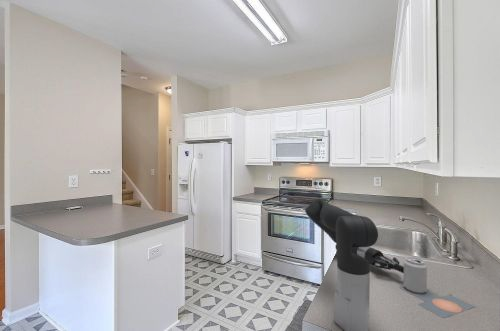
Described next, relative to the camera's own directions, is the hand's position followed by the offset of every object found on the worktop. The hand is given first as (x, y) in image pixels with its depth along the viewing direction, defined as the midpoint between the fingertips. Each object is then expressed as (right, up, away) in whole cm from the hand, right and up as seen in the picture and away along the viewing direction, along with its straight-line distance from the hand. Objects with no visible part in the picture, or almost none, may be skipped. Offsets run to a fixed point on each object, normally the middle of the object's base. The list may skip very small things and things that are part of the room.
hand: (404, 270), depth 96 cm
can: (+1, -6, -4) cm, 7 cm away
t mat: (+4, -6, -9) cm, 12 cm away
